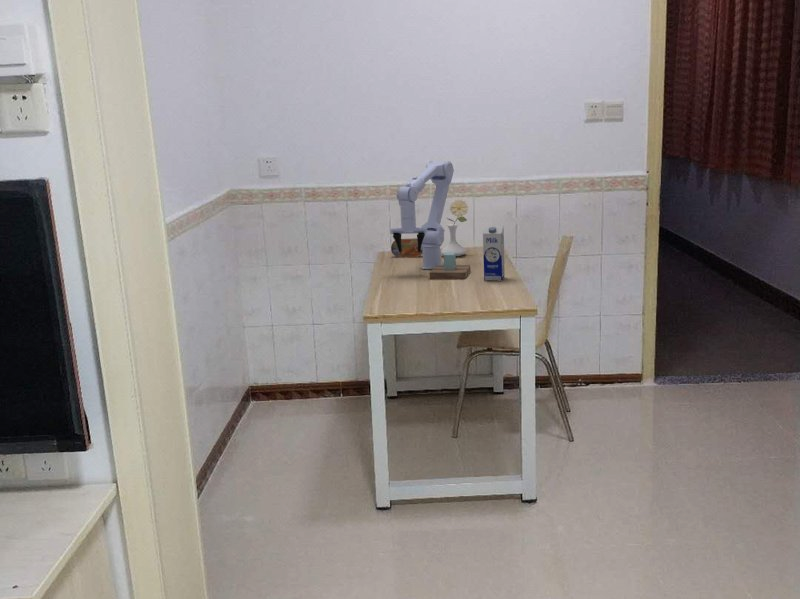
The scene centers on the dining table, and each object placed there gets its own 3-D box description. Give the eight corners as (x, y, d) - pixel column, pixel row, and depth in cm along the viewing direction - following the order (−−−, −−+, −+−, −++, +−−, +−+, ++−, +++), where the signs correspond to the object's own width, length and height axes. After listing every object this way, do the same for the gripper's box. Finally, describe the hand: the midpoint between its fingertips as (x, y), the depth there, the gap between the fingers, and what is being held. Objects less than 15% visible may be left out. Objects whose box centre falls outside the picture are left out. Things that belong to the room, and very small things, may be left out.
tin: (391, 257, 354) (390, 239, 352) (392, 256, 357) (391, 237, 355) (424, 257, 350) (423, 238, 348) (425, 256, 353) (424, 237, 351)
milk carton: (505, 277, 303) (504, 225, 298) (502, 281, 296) (501, 228, 292) (486, 277, 305) (485, 225, 300) (483, 280, 298) (482, 228, 294)
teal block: (445, 268, 313) (445, 253, 311) (455, 267, 312) (455, 253, 311) (444, 270, 309) (443, 255, 308) (454, 270, 308) (453, 254, 307)
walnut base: (435, 271, 319) (435, 265, 319) (470, 271, 316) (470, 265, 316) (429, 279, 306) (429, 272, 305) (465, 279, 303) (465, 272, 302)
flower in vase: (437, 258, 347) (435, 201, 341) (444, 253, 357) (442, 197, 351) (467, 258, 343) (465, 200, 337) (472, 253, 353) (470, 197, 347)
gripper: (387, 219, 308) (389, 253, 311) (424, 218, 305) (426, 253, 308) (391, 216, 315) (393, 250, 318) (427, 215, 311) (429, 250, 315)
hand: (409, 251), depth 313 cm, fingers open, 7 cm apart
